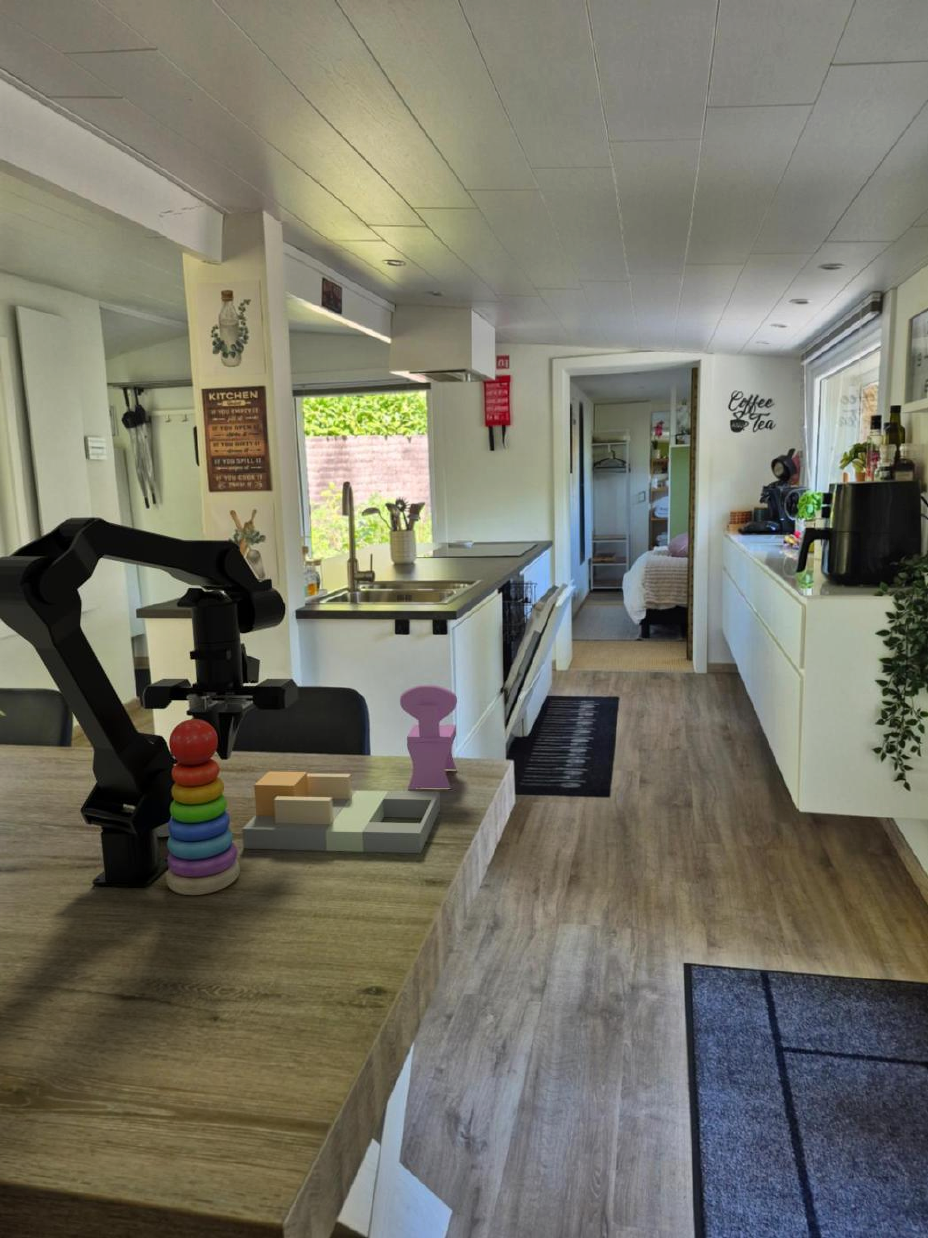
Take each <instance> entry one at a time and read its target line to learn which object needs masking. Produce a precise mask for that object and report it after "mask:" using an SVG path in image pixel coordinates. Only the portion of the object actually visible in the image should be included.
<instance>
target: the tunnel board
mask: <svg viewBox="0 0 928 1238" xmlns="http://www.w3.org/2000/svg"><path fill="white" fill-rule="evenodd" d="M307 780H308V797H289V796H277V797H276V798H275V799H274V807H275V816H267V815H256V814H255V815H254V816H253V817H252V818H251V819H250V820H249V821H248V822H247V823H246V824H245V825H244V826H243V827H242V828H241V830H242V831H241V832H242V833H241V835H242V844H243V845H242V846H243V849H249V850H250V849H252V850H253V849H254V850H255V849H256V850H285V851H286V850H287V851H288V850H292V851H293V850H294V851H295V850H296V851H298V850H299V851H323V852H325V851H327V852H363V853H365V852H366V853H367V852H369V853H395V854H397V853H399V854H401V853H403V854H404V853H405V854H421V853H422V851H423V849H424V847H425V845H426V843H425V842H427V840H428V838H429V836H428V835H430V834H429V833H431V831H432V828H433V827H432V826H434V824H435V822H436V820H435V819H437V818H436V817H438V815H439V813H440V811H441V801H440V800H441V799H440V791H422V790H406V791H405V790H387V791H386V790H385V791H383V790H356V789H355V790H354V789H352V788H353V787H352V773H308V772H307ZM439 810H440V811H439ZM438 812H439V813H438ZM437 814H438V815H437ZM384 818H409V819H410V818H411V819H413V818H415V819H417V818H419V819H421V821H420V822H382V821H383V820H384ZM434 821H435V822H434Z"/></svg>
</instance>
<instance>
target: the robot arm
mask: <svg viewBox="0 0 928 1238" xmlns="http://www.w3.org/2000/svg"><path fill="white" fill-rule="evenodd" d="M101 559H104V560H109V561H110V560H111V561H114V562H119V563H120V562H121V563H126V564H131V565H135V566H141V567H147V568H151V569H156V570H161V571H164V572H166V573H168V575H170V576H171V577H172V578H174V579H176V580H177V581H181V582H182V583H185V584H187V585H189V586H197V587H189V588H188V589H187V590H186V592H185V594H184V595H182V596H181V597H180V598H179V600H178V601H177V602H176V607H177V608H179V609H181V608H184V609H190V613H191V624H192V638H193V639H192V640H193V650H190V651H189V659H190V660H191V661H192V660H193V661H194V664H195V677H196V678H195V679H196V681H195V682H194V683H191V682H190V681H189V679H188V678H162V679H160V680H158V681H155V682H153V683H150V684H149V685H147V686H145V688H144V690H143V692H142V696H141V697H142V707H143V709H145V710H166V709H167V708H168V707H169V706H170V705H171V703H172V702H173V701H181V702H184V701H188V709H187V710H186V716H188V717H189V716H191V717H193V719H200V720H203V721H206V722H207V723H209V724H210V725H211V726H212V727H213V728H214V729H215V731H216V734H217V737H218V745H217V749H216V751H215V753H217V755H218V756H219V758H220V760H222V761H225V760H226V761H227V760H229V759H230V758H231V755H232V753H233V748H234V745H235V740H236V738H237V734H238V731H239V727H240V725H241V722H242V720H243V718H244V715H245V714H246V713H248V712H249V711H251V710H252V709H254V708H255V707H256V708H257V709H258V710H263V711H264V710H265V711H267V710H268V711H269V710H271V711H273V710H274V711H279V710H285V709H287V708H289V706H291V705H293V703H295V702H296V701H298V700H299V687H298V685H297V683H296V682H295V680H294V679H293V678H266V679H264V680H263V681H261V682H259V681H260V667H261V665H260V664H261V660H260V659H258V658H256V657H254V656H251V655H248V654H247V649H246V648H247V647H246V646H245V644H246V643H242V642H241V641H242V640H241V634H242V635H243V634H249V633H253V632H257V631H262V630H267V629H270V628H271V629H272V628H275V627H277V626H279V625H280V624H281V623H282V622H283V620H285V615H286V609H287V608H286V603H285V602H284V598H283V597H282V595H281V593H280V592H279V591H278V590H277V589H276V588H275V587H273V582H272V581H273V579H271V578H262V577H261V578H258V577H257V576H256V574H255V573H254V571H253V569H252V568H251V567H250V564H248V562H247V560H246V558H245V557H244V555H243V553H242V551H241V547H240V545H239V544H238V543H237V542H235V541H233V540H225V539H223V540H222V539H220V540H217V539H215V540H213V539H212V540H211V539H210V540H207V539H201V540H199V539H198V540H197V539H192V540H191V539H186V540H185V539H180V538H176V537H172V536H167V535H163V534H160V533H155V532H151V531H147V530H142V529H139V528H135V527H130V526H125V525H124V524H123V525H122V524H118V523H114V522H109V521H107V520H105V519H104V518H102V517H97V516H96V517H94V516H93V517H92V516H91V517H70V518H68V519H65V520H64V521H62V522H60V523H59V524H58V525H57V526H56V527H54V528H53V529H52V530H50V531H49V532H47V533H45V534H44V535H42V536H40V537H38V538H37V539H34V540H33V541H30V542H29V543H26V544H24V545H23V546H21V547H19V548H18V549H16V550H15V551H14V552H12V553H11V554H10V555H8V556H1V557H0V620H1V621H2V622H3V623H4V624H5V625H6V626H7V627H8V628H10V629H11V630H12V631H14V632H15V633H16V634H17V635H19V636H21V637H22V638H23V639H24V640H26V641H27V642H28V643H29V644H31V645H32V647H33V649H34V650H35V651H36V653H37V654H38V657H39V658H40V660H41V662H42V663H43V666H44V667H45V668H46V670H47V671H48V673H49V675H50V677H51V678H52V680H53V682H54V683H55V686H56V688H58V690H59V692H60V694H61V695H62V697H63V699H64V700H65V702H66V704H67V705H68V708H69V709H70V711H71V713H72V714H73V716H74V717H75V719H76V721H77V723H78V725H79V726H80V727H81V730H82V731H83V733H84V734H85V736H86V738H87V740H88V741H89V743H90V745H91V746H92V749H93V759H92V772H93V774H94V778H95V781H96V782H95V784H94V786H93V787H92V789H91V791H90V793H89V794H88V796H87V798H86V800H84V803H83V805H82V806H81V808H80V811H79V812H80V814H81V816H82V818H83V820H84V822H85V823H86V825H89V826H91V825H93V826H98V827H101V832H100V842H101V843H100V844H101V853H102V862H103V871H102V872H101V873H100V874H98V875H97V876H96V877H95V878H93V879H92V885H93V886H104V887H131V888H133V887H135V888H138V887H139V888H145V887H147V886H148V885H150V884H151V883H152V882H153V881H155V879H157V878H158V876H160V875H161V874H162V873H163V872H164V871H165V870H166V869H167V868H169V866H168V862H167V860H168V857H165V858H161V857H159V856H160V854H159V853H160V852H159V841H158V836H157V827H159V826H162V825H164V824H166V823H168V822H169V821H170V819H171V813H170V806H171V803H172V802H173V801H174V798H173V796H172V787H173V785H174V784H175V783H176V782H175V781H174V780H173V778H172V769H173V767H174V764H177V763H178V761H177V760H176V759H175V758H174V757H173V756H172V755H171V753H170V751H169V748H168V747H169V744H168V742H167V740H166V739H165V737H163V735H159V734H151V733H145V732H139V730H138V729H137V728H136V725H135V724H134V722H133V721H132V719H131V717H130V715H129V713H128V711H127V710H126V708H125V706H124V703H122V700H121V699H120V697H119V695H118V693H117V691H116V689H115V688H114V685H113V684H112V682H111V681H110V677H108V675H107V673H106V670H105V669H104V668H103V666H102V664H101V661H100V660H99V658H98V656H97V654H96V652H95V651H94V648H93V647H92V645H91V644H90V641H89V640H88V638H87V636H86V635H85V632H84V631H83V628H82V624H81V620H82V607H83V601H82V598H81V595H80V592H79V589H80V588H81V587H82V586H83V585H84V584H85V583H87V582H88V581H89V580H90V579H91V578H92V576H93V574H94V572H95V569H96V568H97V565H98V563H99V561H100V560H101ZM198 586H199V587H198ZM244 684H256V685H244ZM124 805H126V806H129V807H126V806H124ZM130 806H135V807H136V808H135V809H132V808H130Z"/></svg>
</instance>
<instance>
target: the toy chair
mask: <svg viewBox="0 0 928 1238" xmlns="http://www.w3.org/2000/svg"><path fill="white" fill-rule="evenodd" d="M457 703H458V697H457V695H456V693H455V692H453V691H452V690H449V689H448V688H446V687H441V686H439V685H435V684H434V685H432V684H431V685H430V684H427V685H425V684H422V685H416V686H412V687H411V688H408V689H406V690H404V691H403V692H402V693H401V695H400V697H399V704H400V707H401V708H402V711H404V712H405V713H407V714H408V715H410V716H411V717H413V718H414V719H415V720H417V721H418V724H413V726H412V728H411V730H410V732H409V733H408V735H407V736H406V743H407V744H406V745H407V746H406V747H407V751H408V755H409V757H410V759H411V762H412V774H411V778H410V782H409V784H408V786H407V790H408V789H409V788H410V789H416V788H418V789H420V788H450V787H451V784H450V783H449V780H448V777H447V772H445V769H457V766H456V764H455V761H454V757H453V750H452V749H453V744H454V741H455V738H456V735H457V725H456V724H441V725H440V722H441V721H442V720H444V719H445V718H446V717H448V716H450V714H451V713H453V712H454V710H455V709H456V707H457Z"/></svg>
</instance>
